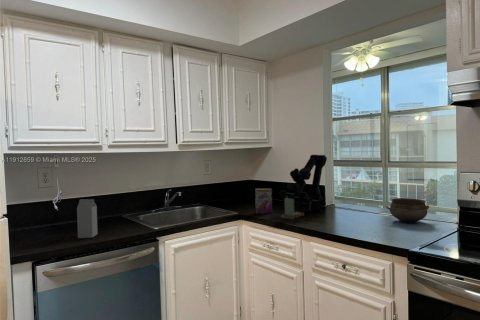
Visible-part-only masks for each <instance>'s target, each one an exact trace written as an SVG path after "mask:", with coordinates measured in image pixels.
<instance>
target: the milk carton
mask: <svg viewBox="0 0 480 320" xmlns="http://www.w3.org/2000/svg"><path fill="white" fill-rule="evenodd" d="M78 201H79V202H78V204H77V207H76V216H77V218H76V220H77V221H76V222H77V238H78V239H87V238H88V239H91V238H94V237H95V236H97V235H98V213H97V212H98V207H97V203H96V202H95V199H94V198H91V199H90V198H86V199H82V198H81V199H79V200H78Z"/></svg>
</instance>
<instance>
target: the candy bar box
mask: <svg viewBox="0 0 480 320" xmlns="http://www.w3.org/2000/svg"><path fill="white" fill-rule="evenodd" d="M254 202H255V203H254V211H255V212H254V214H255V215H258V214H259V215H265V214H267V213H269V214H270V213H271V214H272V213H273V189H272V188H255V190H254Z"/></svg>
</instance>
